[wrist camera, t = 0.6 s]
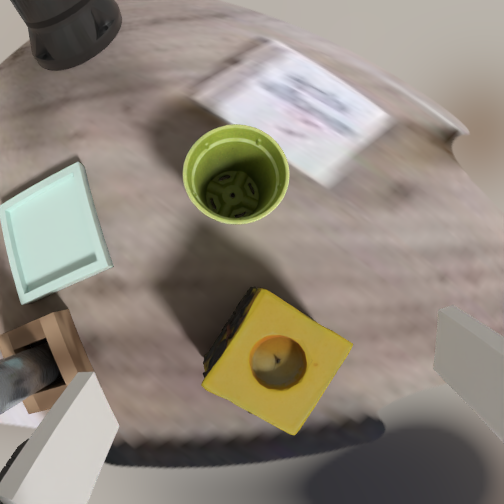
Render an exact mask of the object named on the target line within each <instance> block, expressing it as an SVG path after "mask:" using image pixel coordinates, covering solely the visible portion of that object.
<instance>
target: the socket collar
mask: <svg viewBox="0 0 504 504" xmlns="http://www.w3.org/2000/svg"><path fill="white" fill-rule="evenodd" d="M45 338H46V339H47V341H48V344H49V346H50V349H51V351H52V354H53V356H54V358H55V361H56V363H57V365H58V368H59V370H60V372H61V374H62V377H63V379H64V380H63V381H59V382H56V383H53V384H50V385H47V386H45V387H44V388H42V389H41V390H39V391H37V392H36V393H34V394H33V395H31V396H29V397H28V398H26V399H24V400H23V403H24V405H25V407H26V409H27V411H28V413H29V414H31V413H35V412H39V411H44V410H47V409H51V408H52V406H53V405H54V404H55V402H56V401H57V400H58V398H59V397H60V396H61V394H62V393H63V392H64V390H65V389H66V388H67V386H68V385H69V384H70V382H71V381H72V380H73V378H74V377H75V376H76V374H77V373H78V372H94V370H93V368H92V366H91V364H90V361H89V359H88V357H87V354H86V352H85V350H84V347H83V345H82V343H81V340H80V338H79V335H78V333H77V330H76V328H75V325H74V322H73V320H72V317H71V314H70V312H69V309H67V310H62V311H57V312H53V313H50V314H48V315H46V316H43V317H41V318H39V319H36V320H34V321H32V322H29V323H27V324H25V325H22V326H20V327H18V328H15V329H13V330H11V331H8V332H6V333H4V334H2V335H0V350H1V352H2V355H3V358H6V357H9V356H12V355H14V354H17V353H20V352H23V351H25V350H28V349H31V346H30V344H32V343H35V342H37V341H40V340H42V339H45ZM94 373H95V372H94ZM95 375H96V374H95ZM97 380H98V379H97ZM98 382H99V381H98ZM99 384H100V383H99ZM100 386H101V385H100Z"/></svg>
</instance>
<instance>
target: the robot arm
mask: <svg viewBox="0 0 504 504" xmlns="http://www.w3.org/2000/svg"><path fill="white" fill-rule="evenodd" d="M10 1H11V2H12V4H13V5H14V7H15V8H16V10H17V11H18V13H19V14H20V16H21V17H22V19H23V20H24V22H25V23H26V25H27V26H28V31H29V37H30V44H31V50H32V54H33V56H34V58H35V59H36V60H37V62H38V63H39V64H40V65H41V66H42V67H43V68H45V69H48V70H64V69H68V68H71V67H74V66H77V65H79V64H82V63H84V62H85V61H87V60H89V59H91V58H92V57H94V56H95V55H97V54H98V53H99V52H101V51H102V50H103V49H104V48H105V47H107V46H108V45H109V44H110V42H111V41H112V40H113V39H114V38H115V36H116V35H117V33H118V31H119V29H120V27H121V23H122V16H121V13H120V9H119V7H118V5H117V3H116V2H115V1H114V0H10ZM433 369H434V370H435V371H436V372H437V373H438V374H439V375H440V376H441V377H442V378H443V380H444V381H445V382H446V383H447V384H448V385H449V386H451V388H452V389H453V390H454V391H455V392H456V393H457V394H458V395H459V396H460V397H461V398H462V399H463V400H464V401H465V402H466V403H467V404H468V405H469V406H470V407H471V409H472V410H473V411H474V412H475V413H476V414H477V415H478V416H479V417H480V418H481V419H482V420H483V421H484V422H485V423H486V425H487V426H488V427H489V428H490V429H491V430H492V431H493V432H494V433H495V434H496V435H497V436H498V438H499V439H500V440H501V441H502V442H503V443H504V337H503V336H502V335H500V334H499V333H497V332H495V331H494V330H492V329H491V328H489V327H488V326H486V325H485V324H483V323H481V322H480V321H478V320H477V319H475V318H474V317H472V316H470V315H469V314H467V313H466V312H464V311H462V310H461V309H459V308H457V307H456V306H454V305H451V306H448V307H445V308H442V309H439V310H438V322H437V336H436V348H435V358H434V367H433ZM118 428H119V424H118V422H117V420H116V418H115V416H114V414H113V412H112V410H111V408H110V406H109V404H108V402H107V400H106V397H105V395H104V393H103V391H102V389H101V386H100V384H99V382H98V380H97V377H96V375H95V373H94V372H78V373H77V374H76V376H75V377H74V378H73V380H72V381H71V382H70V384H69V385H68V386H67V388H66V389H65V390H64V392H63V393H62V394H61V396H60V397H59V398H58V400H57V401H56V402H55V404H54V405H53V406H52V408H51V409H50V411H49V412H48V413H47V415H46V416H45V417H44V419H43V420H42V422H41V423H40V424H39V426H38V427H37V429H36V430H35V432H34V433H33V434H32V436H31V437H30V439H27V440H26V441H24V442H23V443H22V444H21V445H20V446H18V447H17V449H16V450H15V452H14V453H13V455H12V456H11V459H9V460H8V462H7V463H6V467H5V466H4V468H3V469H2V471H1V472H0V504H87V503H88V500H89V498H90V495H91V493H92V490H93V488H94V485H95V483H96V480H97V478H98V475H99V473H100V470H101V468H102V466H103V463H104V461H105V458H106V456H107V454H108V451H109V449H110V447H111V444H112V442H113V440H114V437H115V435H116V433H117V430H118Z"/></svg>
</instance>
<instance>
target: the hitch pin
mask: <svg viewBox="0 0 504 504" xmlns="http://www.w3.org/2000/svg"><path fill="white" fill-rule="evenodd" d="M61 376H62V374H61V372H60V370H59V368H58V365H57V363H56V361H55V358H54V356H53V354H52V351H51V349H50V346H49V344H48V342H47V343H44V344H42V345H39V346H36V347H34V348H31V349H28V350H25V351H23V352H20V353H17V354H14V355H12V356H9V357H6V358H3V359H1V360H0V414H2V413H4V412H5V411H7V410H8V409H10V408H12V407H13V406H15V405H16V404H18V403H20V402H21V401H23V400H24V399H26V398H28V397H29V396H31V395H33V394H34V393H36V392H37V391H39V390H41V389H42V388H44V387H45V386H47V385H49V384H50V383H52V382H53V381H55V380H56V379H58V378H60V377H61Z"/></svg>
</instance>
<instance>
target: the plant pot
mask: <svg viewBox="0 0 504 504" xmlns="http://www.w3.org/2000/svg"><path fill="white" fill-rule="evenodd" d="M226 175H230V176H231V177H230V178H227V179H224V180H222V181H219V179H220V178H221V177H223V176H226ZM183 182H184V187H185V190H186V192H187V194H188V196H189V198H190V200H191V201H192V203H193V204H194V205H195V206H196V207H197V208H198V209H199V210H200V211H201V212H202V213H203V214H205V215H206V216H208V217H210V218H212V219H214V220H216V221H219V222H222V223H226V224H246V223H251V222H254V221H257V220H259V219H261V218H263V217H265V216H266V215H268V214H269V213H271V212H272V211H273V210H274V209H275V208H276V207H277V206H278V205H279V203H280V202H281V201H282V199H283V197H284V195H285V193H286V191H287V188H288V184H289V166H288V162H287V159H286V156H285V154H284V152H283V150H282V149H281V147H280V146H279V145H278V144H277V142H276V141H275V140H274V139H273V138H272V137H271V136H269V135H268V134H266V133H264V132H263V131H261V130H259V129H257V128H254V127H251V126H246V125H237V124H236V125H235V124H234V125H225V126H222V127H218V128H216V129H213V130H211V131H209V132H207V133H206V134H204V135H203V136H202V137H200V138H199V139H198V140H197V141H196V142H195V143H194V144H193V146H192V147H191V149H190V150H189V152H188V154H187V156H186V158H185V161H184V165H183ZM248 184H251V185H252V187H253V189H254V192H255V193H254V194H252V192H251V189H250V187H249V185H248ZM231 193H234V195H235V197H234V198H232V197H231ZM211 198H213V201H214V204H215V206H216V208H217V209H214V208H213V206H212V204H211V201H210V200H211ZM243 212H246V213H245V214H244V215H243V216H241V217H238V218H236V217H235V215H237V214H241V213H243Z"/></svg>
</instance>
